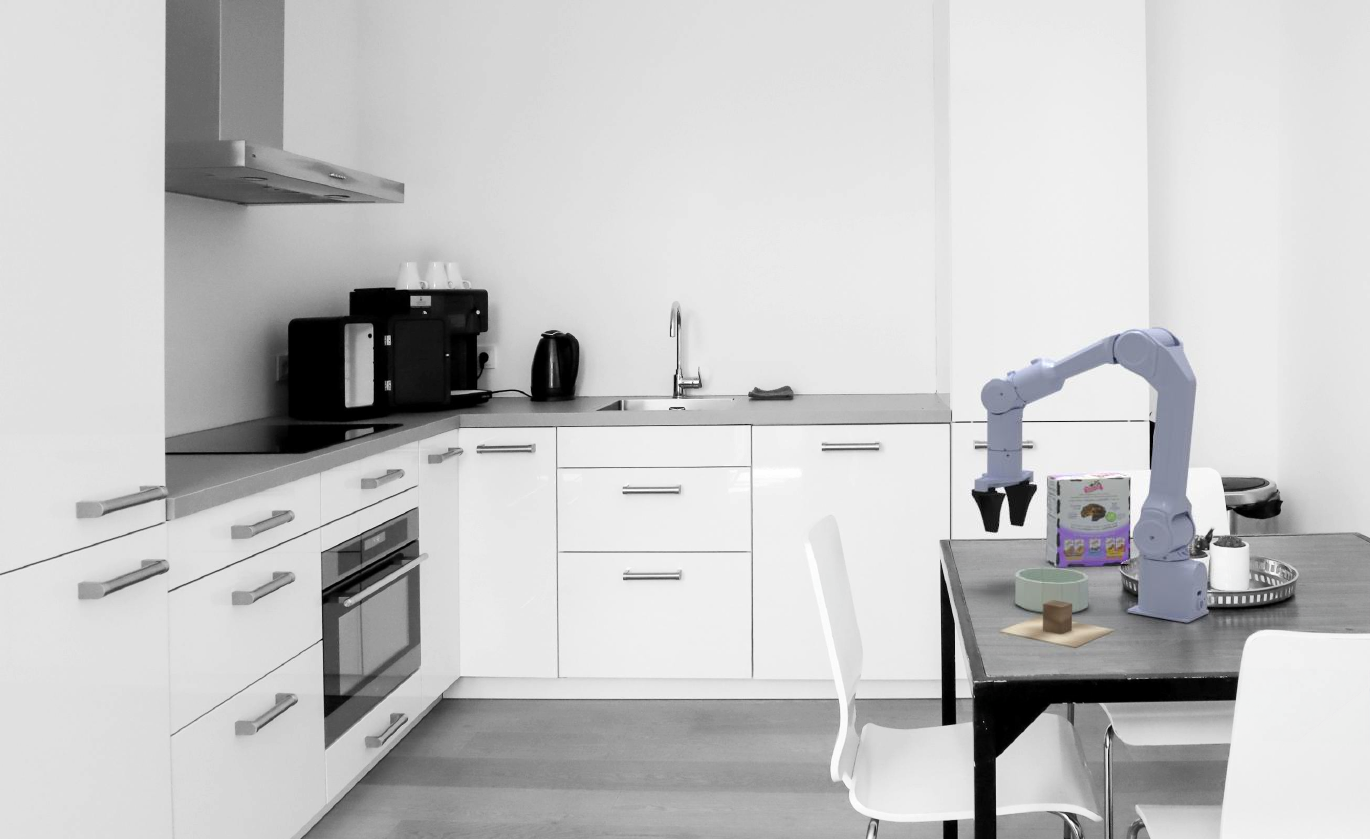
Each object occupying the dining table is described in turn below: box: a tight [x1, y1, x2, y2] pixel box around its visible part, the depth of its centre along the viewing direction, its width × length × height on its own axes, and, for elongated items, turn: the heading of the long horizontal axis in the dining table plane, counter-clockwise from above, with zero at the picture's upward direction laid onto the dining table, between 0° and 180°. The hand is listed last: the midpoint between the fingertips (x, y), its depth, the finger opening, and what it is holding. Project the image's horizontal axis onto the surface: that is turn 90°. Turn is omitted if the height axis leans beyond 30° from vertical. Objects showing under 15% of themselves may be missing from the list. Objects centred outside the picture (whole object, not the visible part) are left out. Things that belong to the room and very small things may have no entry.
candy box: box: [1045, 472, 1132, 568], centre depth 216 cm, size 14×6×16 cm, turn 92°
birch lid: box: [998, 600, 1116, 649], centre depth 172 cm, size 12×12×5 cm
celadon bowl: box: [1014, 567, 1089, 614], centre depth 187 cm, size 11×11×5 cm
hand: (1004, 528), depth 199 cm, fingers open, 7 cm apart
